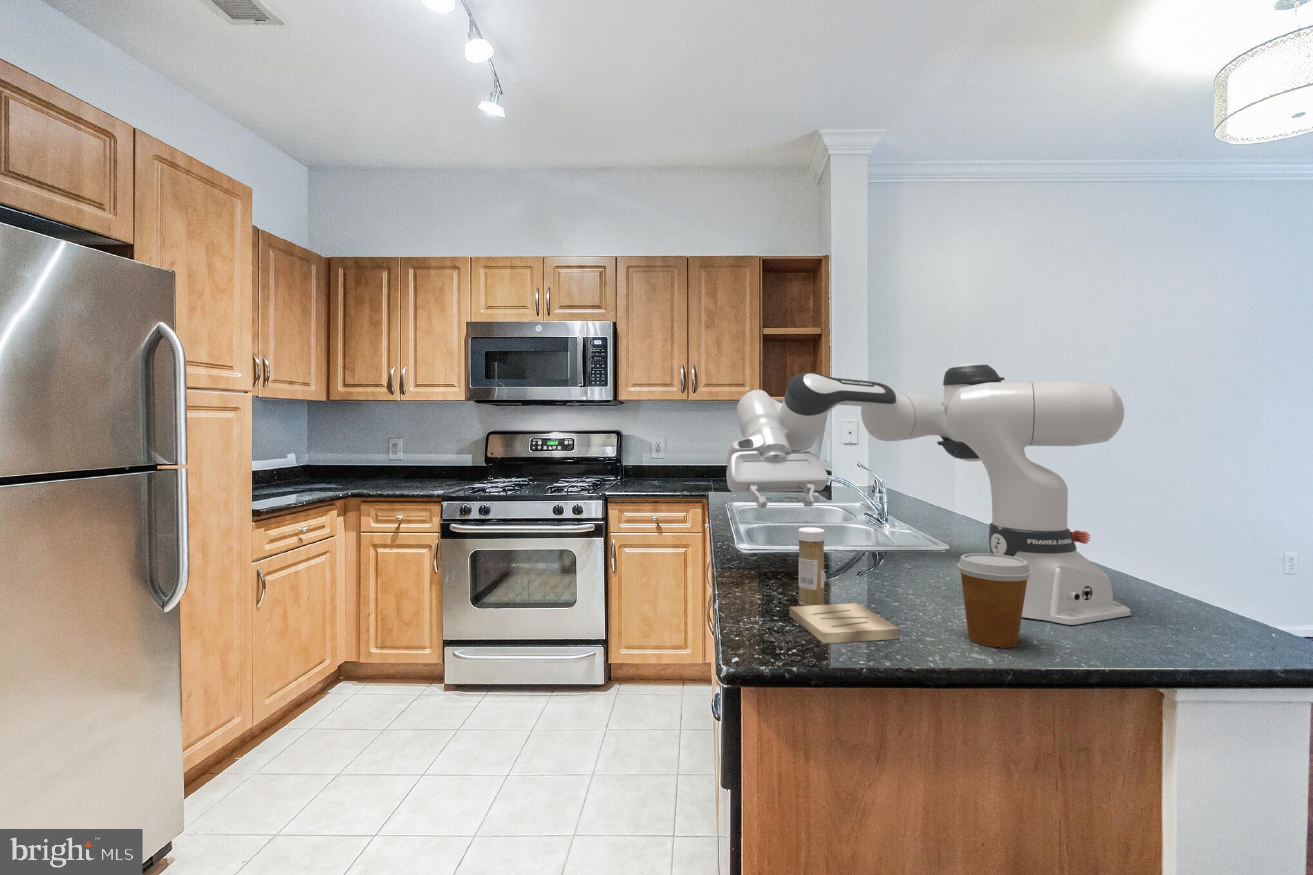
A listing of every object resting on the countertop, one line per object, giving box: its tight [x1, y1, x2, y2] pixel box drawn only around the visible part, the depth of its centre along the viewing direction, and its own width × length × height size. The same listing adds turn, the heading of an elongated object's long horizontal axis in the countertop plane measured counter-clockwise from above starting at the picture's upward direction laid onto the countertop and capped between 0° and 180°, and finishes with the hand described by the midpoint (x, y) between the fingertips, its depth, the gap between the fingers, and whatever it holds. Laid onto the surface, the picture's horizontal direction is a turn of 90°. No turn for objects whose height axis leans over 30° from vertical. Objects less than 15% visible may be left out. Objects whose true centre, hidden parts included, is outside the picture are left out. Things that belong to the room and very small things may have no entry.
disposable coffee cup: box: [956, 552, 1032, 649], centre depth 90 cm, size 10×10×12 cm
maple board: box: [788, 602, 901, 644], centre depth 96 cm, size 12×13×2 cm
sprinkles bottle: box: [797, 526, 826, 606], centre depth 108 cm, size 5×5×13 cm
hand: (786, 505), depth 118 cm, fingers open, 8 cm apart
